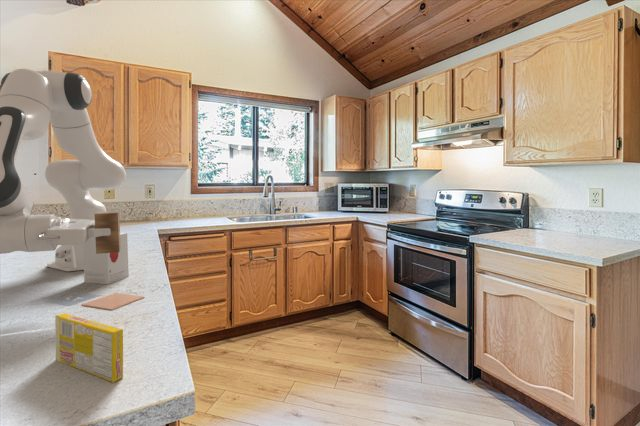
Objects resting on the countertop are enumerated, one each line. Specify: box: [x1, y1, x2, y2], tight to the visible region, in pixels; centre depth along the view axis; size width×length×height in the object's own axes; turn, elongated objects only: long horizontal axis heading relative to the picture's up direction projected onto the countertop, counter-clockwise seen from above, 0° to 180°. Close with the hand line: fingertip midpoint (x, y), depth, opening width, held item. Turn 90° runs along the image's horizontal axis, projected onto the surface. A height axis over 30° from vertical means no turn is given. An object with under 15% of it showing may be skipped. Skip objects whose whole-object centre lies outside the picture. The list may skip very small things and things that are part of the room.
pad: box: [81, 292, 145, 311], centre depth 93 cm, size 10×10×1 cm
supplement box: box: [83, 232, 129, 285], centre depth 113 cm, size 9×9×15 cm
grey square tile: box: [44, 291, 102, 307], centre depth 95 cm, size 9×9×1 cm
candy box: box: [54, 312, 124, 384], centre depth 60 cm, size 16×2×8 cm, turn 64°
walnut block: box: [94, 211, 121, 254], centre depth 91 cm, size 5×5×10 cm
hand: (112, 229), depth 91 cm, fingers closed on walnut block, 5 cm apart
